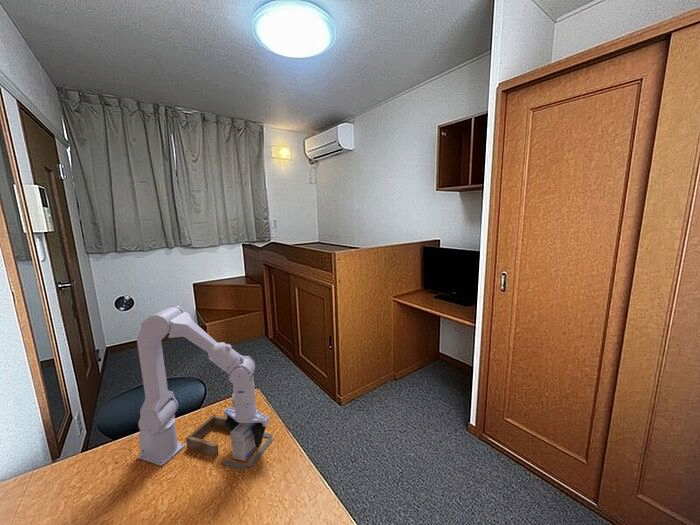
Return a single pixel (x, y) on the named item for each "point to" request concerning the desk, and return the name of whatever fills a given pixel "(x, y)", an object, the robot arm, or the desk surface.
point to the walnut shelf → (196, 437)
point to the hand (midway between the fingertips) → (248, 441)
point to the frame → (254, 459)
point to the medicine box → (242, 441)
